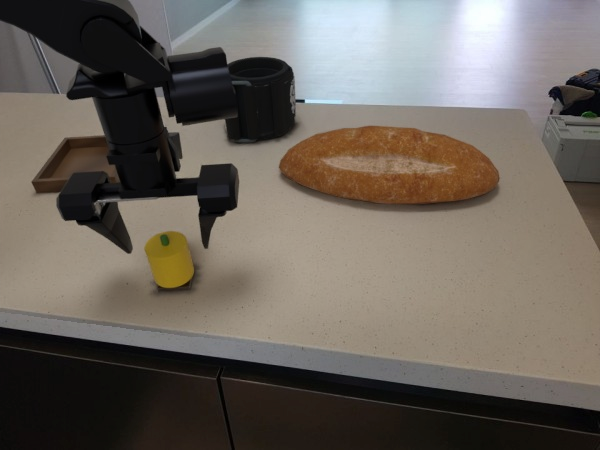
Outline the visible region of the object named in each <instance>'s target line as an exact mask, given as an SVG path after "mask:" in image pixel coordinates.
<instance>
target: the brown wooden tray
mask: <svg viewBox="0 0 600 450" xmlns="http://www.w3.org/2000/svg"><path fill="white" fill-rule="evenodd" d="M108 152H109V147H108V144H107V141H106V138H105V135H104V134H103V135H101V134H100V135H86V136H85V135H83V136H71V137H70V136H69V137H68V136H67V137H64V138H63V139H62V141H61V142H60V143H59V144H58V146H57V147H56V148H55V149H54V151H53V152H52V154H51V155H50V156H49V158H47V160H46V161H45V163H44V164H43V165H42V167H41V168H40V169H39V171H38V172H37V173H36V175H35V176H34V177H33V179H32V180H31V182H30V183H31V184H32V186H33V189H34V190H35V193H36V194H48V193H49V194H51V193H60V192H61V190H62V189H63V187H64V186H65V184H66V183H67V181H68V179H69V178H70V177H71V175H72V174H73V173H78V172H94V171H104V172H106V173H108V175H109V178H110V181H111V182H110V183H118V182H120V180H119V177H118V174H117V171H116V168H115V165H109V163H108V160H107V157H106V155H107V153H108Z"/></svg>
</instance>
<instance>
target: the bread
mask: <svg viewBox="0 0 600 450" xmlns="http://www.w3.org/2000/svg"><path fill="white" fill-rule="evenodd" d="M278 169H279V171H280V172H281V173H282V174H283V175H284V176H285V177H286V178H287V179H289V180H292V182H295V183H298V184H299V185H301V186H304V187H306V188H310V189H311V190H312V189H313V190H315V191H318V192H320V193H324V194H328V195H331V196H335V197H339V198H342V199H347V200H353V201H361V202H362V201H363V202H369V203H375V204H376V203H377V204H391V205H392V204H393V205H425V204H426V205H427V204H435V203H437V204H438V203H447V202H455V201H462V200H469V199H472V198H475V197H476V198H477V197H479V196H482V195H485V194H487V193H488V192H490V191H492V190H494V189H495V188H496V187H497V186H498V184H499V183H500V179H501V178H500V172H499V169H498V168H497V167H496V166H495V164H494V162H492V159H490V158H489V157H488V156H487V155H486V154H485V153H483V151H481V150H480V149H478V148H477V147H475V146H474V144H471V143H467V142H465V141H462V140H461V139H460V140H459V139H457V138H454V137H451V136H449V135H446V134H442V133H436V132H431V131H430V132H429V131H424V130H421V129H418V128H415V127H403V126H387V125H385V126H384V125H365V126H359V127H343V128H338V129H333V130H329V131H325V132H320V133H316V134H314V135H311V136H309V137H307V138H305V139H303V140H301V141H299V142H298V143H296V144H294V145H293V146H292V147H290V148H289V149H288V150H287V152H286V153H285V154H284V155H283V157H282V158H280V161H279V164H278Z"/></svg>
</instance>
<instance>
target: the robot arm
mask: <svg viewBox="0 0 600 450" xmlns="http://www.w3.org/2000/svg"><path fill="white" fill-rule="evenodd" d="M139 19H140V18H139V15H138V13H137V11H136V9H135V7H134V6H133V4H132V3H131V1H130V0H0V22H3V23H6V24H9V25H11V26H13V27H16V28H18V29H20V30H22V31H24V32H26V33H27V34H29V35H31V36H32V37H34V38H35V39H37V40H38V41H40V42H41V43H43V44H44V45H46V46H47V47H49V49H51V50H53V51H54V52H56V53H57V54H60V55H62V56H64V57H66V58H68V59H70V60H72V61H74V62H76V63H78V64H77V67H76V72H75V74H74V76H73V77H72V78H71V79H70V80H69V81H68V86H67V89H66V95H65V96H66V98H67V99H68V100H69V101H76V100H77V101H78V100H84V99H90V98H91V99H92V101H93V105H94V108H95V111H96V114H97V116H98V119H99V123H100V126H101V128H102V129H101V130H102V132H103V135H105V138H106V141H107V144H108V147H109V152H108V153H107V155H106V157H107V160H108V163H109V165H115V168H116V171H117V174H118V177H119V180H120V182H118V183H110V182H111V181H110V178H109V175H108V173H106V172H104V171H94V172H78V173H73V174H72V175H71V177H70V178H69V179H68V181H67V183H66V184H65V186H64V187H63V189H62V190H61V192H58V195H57V196H56V201H55V202H56V203H55V205H56V208H57V210H58V212H59V215H60V217H61V219H62V220H63V221H65V222H72V221H75V223H76V225H78V226H81V227H83V226H85V227H87V228H89V229H90V230H92V231H93V232H95V233H97V234H98V235H100V236H102V237H104V238H105V239H107V240H108V241H109V242H111V243H112V244H113V245H114V246H117V247H118V248H119V249H120V250H122V251H123V252H125V254H127V255H131V254H132V252H133V249H134V247H133V242H132V239H131V236H130V233H129V231H128V228H127V226H126V224H125V221H124V219H123V216H122V214H121V212H120V209H119V202H120V203H121V202H134V201H135V202H136V201H151V200H158V199H162V198H177V197H179V198H180V197H194V196H196V198H197V203H198V207H199V210H198V215H197V216H198V217H197V218H198V223H199V229H200V236H201V237H200V238H201V243H202V246H203V249H204V250H208V249H209V246H210V245H209V244H210V240H211V239H210V238H211V233H212V229H213V228H214V225H215V223H216V220H217V218H223V217H225V216H226V215H227V212H232V211H234V210H235V209H237V208H238V202H239V193H240V192H239V191H240V175H239V169H238V168H237V167H236V166H235V165H234V164H233V163H231V162H230V163H215V164H214V163H213V164H201V165H200V170H199V175H198V176H194V177H178V178H177V174H176V173H179V172H180V171H181V167H182V164H181V160H182V159H183V157H184V155H183V150H182V143H181V134H180V132H179V131H171V132H169V130H168V128H167V126H165V125H164V121H163V115H162V112H161V109H160V104H159V100H158V96H157V92H156V89H157V88H161V89H162V93H163V97H164V102H165V107H166V112H167V115H168V118H175V121H176V124H177V125H178V124H181V125H182V127H185V126H191V125H198V124H205V123H209V122H210V123H211V122H215V121H222V120H225V119H229V118H235V117H237V116H238V106H237V97H236V92H235V89H234V88H233V86H232V81H231V76H230V72H229V69H228V65H227V64H228V59H227V53H226V51H225V50H224V49H223V48H222V47H221V46H217V47H211V48H207V49H204V50H201V51H195V52H188V53H181V54H173V55H172V54H171V55H168V54H167V49H166V48H165V47H164V46H163V45H162V44H161V42H159V41H158V40H157V39H155V38H154V37H153V36H152V35H151V34H150V33H149V32H148V31H147V30H146V29H145V28H144V27H143V26H142V25H141V24H140V20H139Z"/></svg>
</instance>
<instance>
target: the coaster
mask: <svg viewBox="0 0 600 450" xmlns="http://www.w3.org/2000/svg"><path fill="white" fill-rule="evenodd" d="M193 267H194V268H195V266H194V265H193ZM192 281H193V277H192V278H191V279H190V280H189V281H188V282H186V283H185V284H183V285H181V286H178V287H174V288H165V287H161V286H159V285H158V284H157V288H156V290H157V292H158V293H162V292H165V293H166V292H178V291H179V292H181V291H190V290H191V287H192Z"/></svg>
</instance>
